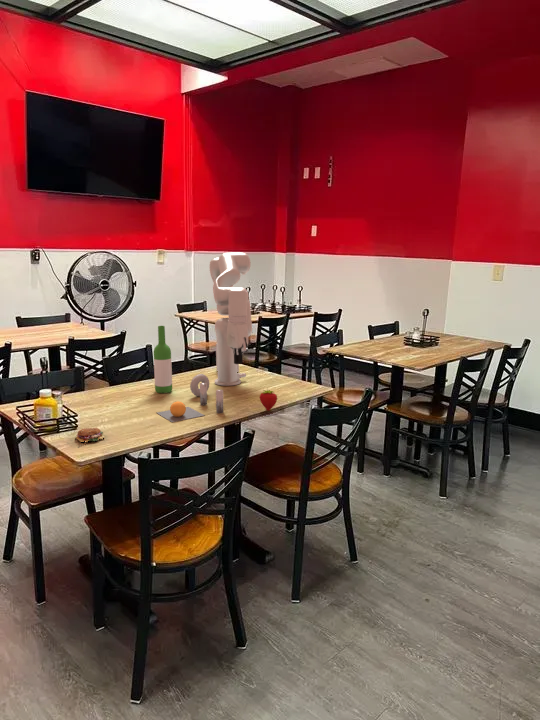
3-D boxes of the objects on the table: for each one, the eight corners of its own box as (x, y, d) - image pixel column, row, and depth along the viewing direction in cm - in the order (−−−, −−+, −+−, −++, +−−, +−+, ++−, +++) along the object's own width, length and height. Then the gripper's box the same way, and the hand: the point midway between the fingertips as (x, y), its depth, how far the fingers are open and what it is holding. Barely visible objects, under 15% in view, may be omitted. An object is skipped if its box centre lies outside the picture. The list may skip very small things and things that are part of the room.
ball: (164, 411, 206) (175, 418, 210) (172, 414, 201) (184, 420, 205) (171, 397, 208) (182, 404, 211) (180, 399, 203) (191, 407, 207)
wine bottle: (174, 389, 246) (172, 325, 240) (168, 394, 238) (166, 327, 232) (158, 388, 247) (156, 324, 241) (152, 393, 240) (149, 327, 233)
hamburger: (60, 441, 182) (59, 424, 181) (100, 432, 191) (99, 416, 190) (74, 453, 172) (73, 435, 170) (116, 443, 180) (115, 426, 179)
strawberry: (272, 414, 210) (273, 389, 208) (256, 411, 214) (256, 387, 212) (280, 410, 215) (280, 386, 213) (263, 407, 219) (263, 384, 217)
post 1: (205, 403, 225) (204, 382, 223) (208, 404, 223) (207, 383, 221) (199, 404, 223) (198, 383, 221) (202, 405, 221) (201, 384, 219)
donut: (193, 399, 231) (193, 376, 229) (188, 397, 233) (188, 375, 231) (211, 394, 238) (210, 372, 236) (206, 393, 240) (205, 371, 238)
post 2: (221, 410, 214) (220, 389, 212) (224, 412, 212) (224, 390, 210) (215, 412, 213) (214, 390, 211) (218, 413, 210) (218, 391, 209)
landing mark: (188, 407, 219) (188, 406, 219) (204, 415, 208) (204, 415, 208) (156, 413, 211) (156, 412, 211) (171, 422, 200) (171, 421, 200)
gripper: (220, 318, 222) (221, 361, 225) (239, 322, 210) (240, 368, 213) (235, 317, 226) (236, 359, 230) (255, 321, 214) (255, 365, 218)
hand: (238, 363), depth 222 cm, fingers closed
